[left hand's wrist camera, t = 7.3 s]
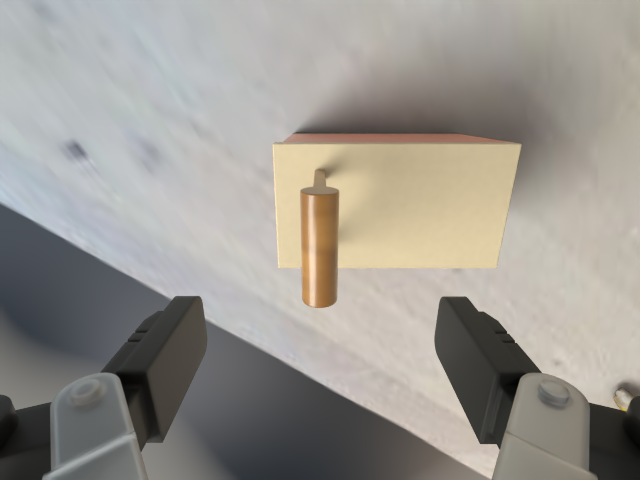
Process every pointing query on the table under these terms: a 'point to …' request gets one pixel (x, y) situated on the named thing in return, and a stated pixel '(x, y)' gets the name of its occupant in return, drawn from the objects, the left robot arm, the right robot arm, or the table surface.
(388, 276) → the table surface
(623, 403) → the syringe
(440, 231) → the lid
